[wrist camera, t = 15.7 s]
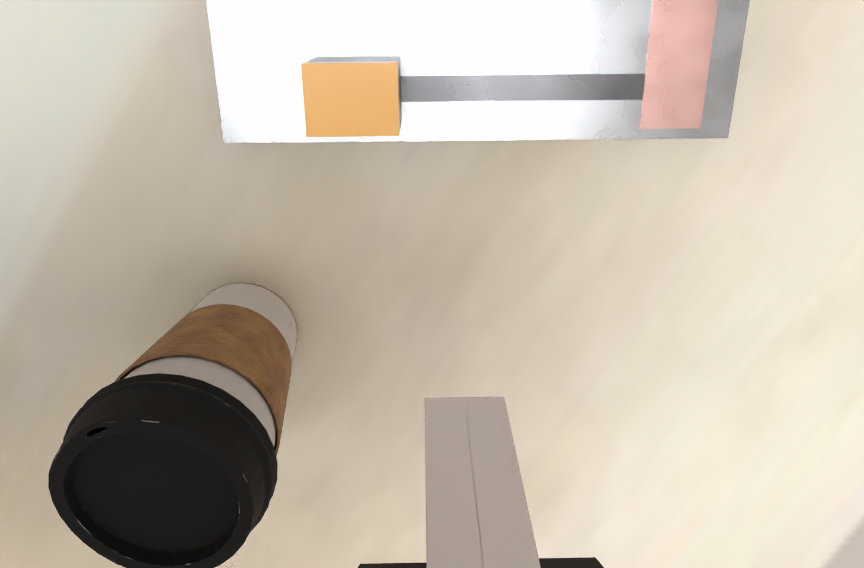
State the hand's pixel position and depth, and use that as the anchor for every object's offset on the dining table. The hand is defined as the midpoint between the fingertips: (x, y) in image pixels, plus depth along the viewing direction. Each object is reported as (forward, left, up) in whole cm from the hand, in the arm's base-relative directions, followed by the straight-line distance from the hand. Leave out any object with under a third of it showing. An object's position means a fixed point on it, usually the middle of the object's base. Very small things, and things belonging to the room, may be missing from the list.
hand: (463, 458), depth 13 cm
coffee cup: (-11, -9, -25) cm, 28 cm away
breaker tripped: (-4, +4, -23) cm, 23 cm away
